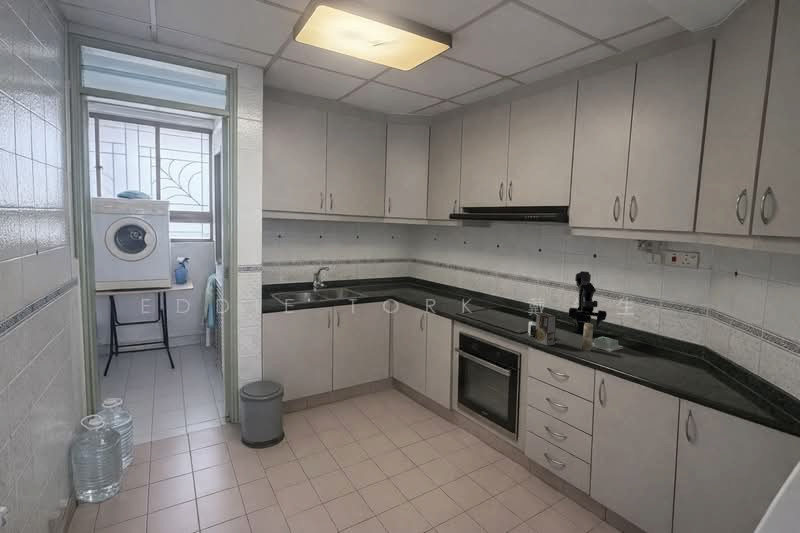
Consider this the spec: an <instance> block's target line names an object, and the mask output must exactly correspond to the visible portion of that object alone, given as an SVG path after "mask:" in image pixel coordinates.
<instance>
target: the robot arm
mask: <svg viewBox="0 0 800 533" xmlns="http://www.w3.org/2000/svg"><path fill="white" fill-rule="evenodd" d="M591 277H592V275H591V273H590V272H589V271H579V272H578V273H576V274H575V278H574V280H575V282H576V284H575V285H576V286H577V288H578V307H569V309H568V317H569V318H571V319H573V323H574V330H573V331H572V332H573V333H576V334H579V335H583V333H584V323H591V320H592V317H596V322H595V329H598V326H599V324H600V322H603V321H605V320H606V318H607V315H608V314H607V311H606V310H600V309H599V310H597V312H593V311H594V310H595V309H594V308H597V307H598V304H599V303H598V300H593V297H594V294H595V293H596V292H597V289H596V288H595V286H594V284H593V283H592V282H591Z"/></svg>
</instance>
